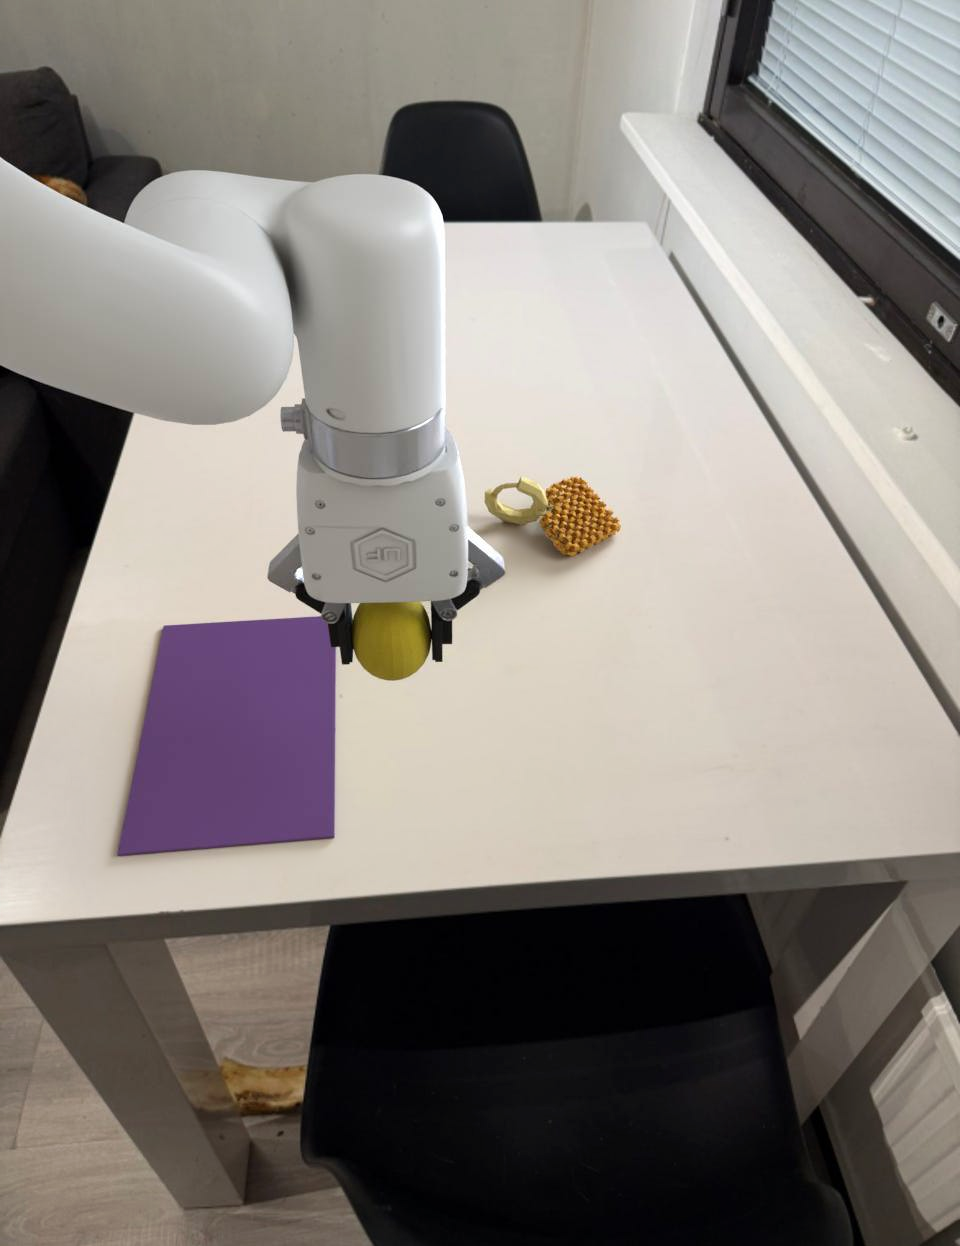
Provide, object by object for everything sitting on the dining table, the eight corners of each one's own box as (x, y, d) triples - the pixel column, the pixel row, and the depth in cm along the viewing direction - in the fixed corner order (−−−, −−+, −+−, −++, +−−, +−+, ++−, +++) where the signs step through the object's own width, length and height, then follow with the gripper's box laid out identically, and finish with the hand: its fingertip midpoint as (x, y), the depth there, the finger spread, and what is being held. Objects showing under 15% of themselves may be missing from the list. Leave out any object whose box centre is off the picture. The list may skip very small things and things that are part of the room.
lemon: (430, 704, 61) (428, 624, 55) (351, 701, 61) (341, 621, 55) (434, 646, 65) (432, 566, 59) (360, 644, 65) (351, 564, 59)
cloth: (334, 838, 66) (334, 836, 66) (118, 856, 65) (117, 854, 64) (336, 617, 83) (335, 615, 83) (164, 627, 81) (163, 625, 81)
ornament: (634, 470, 92) (499, 434, 91) (628, 548, 87) (484, 511, 85) (613, 509, 98) (485, 475, 96) (606, 584, 92) (470, 549, 91)
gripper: (209, 467, 45) (263, 693, 58) (539, 463, 46) (519, 685, 59) (230, 392, 50) (274, 614, 63) (525, 389, 51) (509, 608, 64)
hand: (392, 646), depth 61 cm, fingers closed on lemon, 5 cm apart
